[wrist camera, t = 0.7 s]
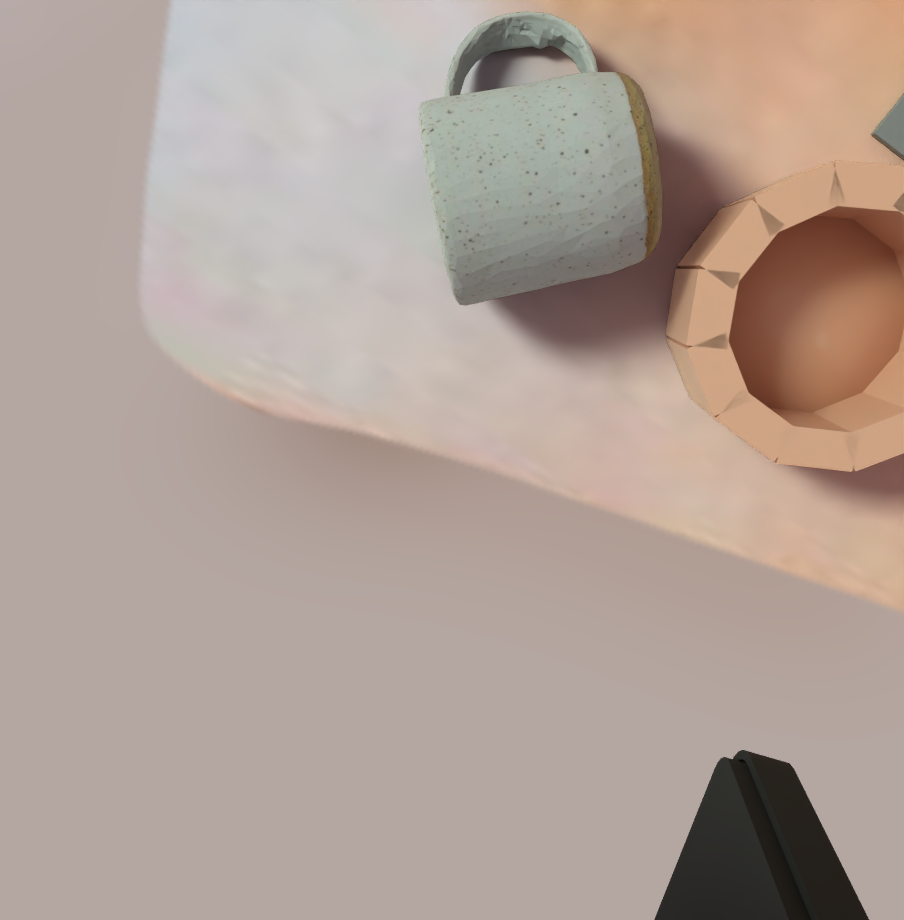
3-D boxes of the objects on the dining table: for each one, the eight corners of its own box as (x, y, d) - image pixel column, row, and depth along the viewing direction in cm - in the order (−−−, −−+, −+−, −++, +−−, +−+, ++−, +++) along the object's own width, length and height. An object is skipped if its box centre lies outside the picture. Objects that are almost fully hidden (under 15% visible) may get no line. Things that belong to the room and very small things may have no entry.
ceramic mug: (650, 264, 34) (682, 258, 27) (464, 305, 36) (444, 310, 28) (607, -1, 32) (628, -86, 25) (411, 52, 34) (375, -14, 26)
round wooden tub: (786, 122, 33) (830, 97, 28) (996, 284, 33) (1075, 286, 28) (616, 343, 35) (629, 356, 30) (813, 489, 36) (857, 523, 31)
